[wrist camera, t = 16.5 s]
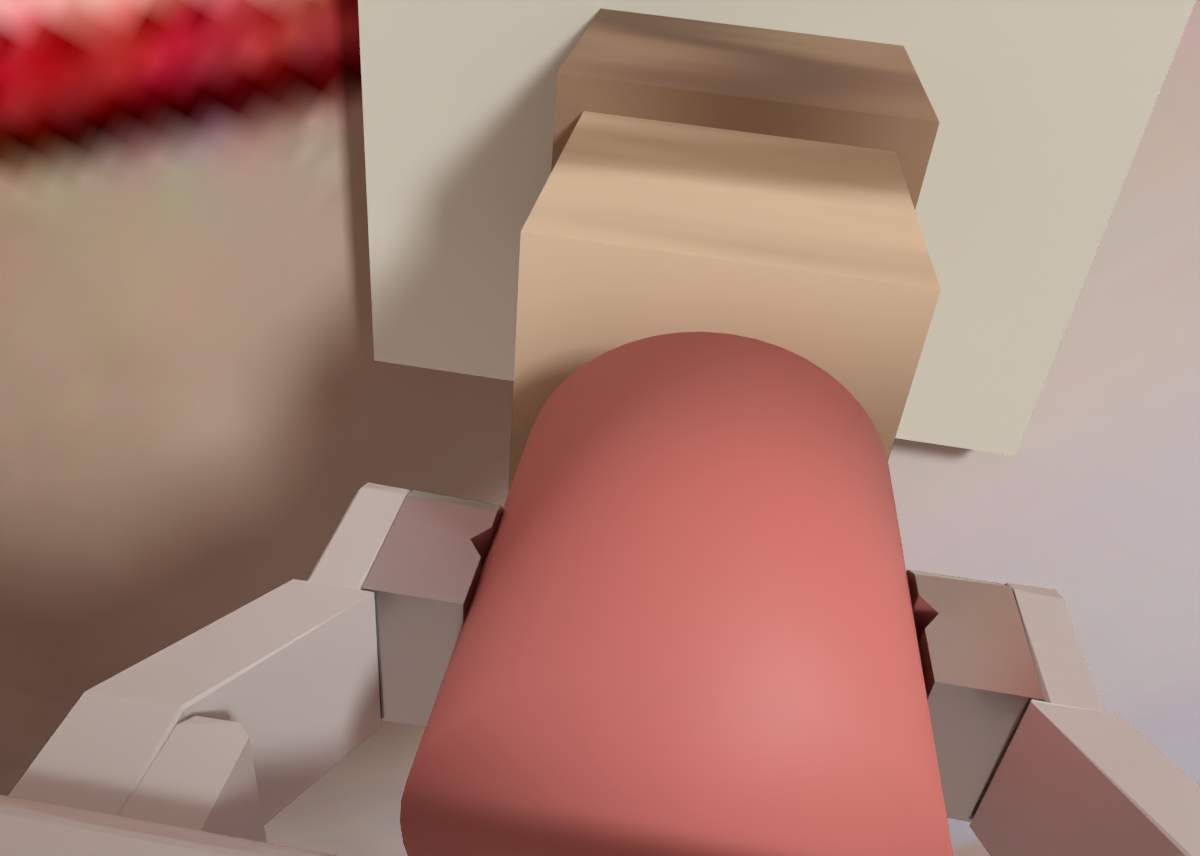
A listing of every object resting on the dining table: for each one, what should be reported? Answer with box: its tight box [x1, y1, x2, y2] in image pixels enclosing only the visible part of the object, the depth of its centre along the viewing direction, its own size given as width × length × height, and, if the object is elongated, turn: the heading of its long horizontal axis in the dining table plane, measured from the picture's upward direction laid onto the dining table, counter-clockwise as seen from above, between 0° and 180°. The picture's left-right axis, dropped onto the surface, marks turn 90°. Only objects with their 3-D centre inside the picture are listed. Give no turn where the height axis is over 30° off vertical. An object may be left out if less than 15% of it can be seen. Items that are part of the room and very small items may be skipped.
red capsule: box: [400, 332, 953, 856], centre depth 10 cm, size 4×4×5 cm
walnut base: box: [551, 8, 940, 209], centre depth 19 cm, size 6×6×5 cm
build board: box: [358, 0, 1196, 456], centre depth 22 cm, size 16×12×1 cm
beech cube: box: [509, 111, 941, 491], centre depth 15 cm, size 5×5×5 cm
